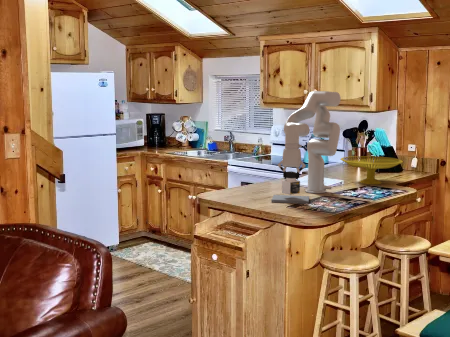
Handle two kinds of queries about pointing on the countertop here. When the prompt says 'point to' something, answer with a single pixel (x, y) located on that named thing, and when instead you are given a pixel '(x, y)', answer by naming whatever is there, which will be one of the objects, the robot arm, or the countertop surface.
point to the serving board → (290, 199)
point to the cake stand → (371, 166)
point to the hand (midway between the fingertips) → (291, 178)
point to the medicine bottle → (291, 184)
